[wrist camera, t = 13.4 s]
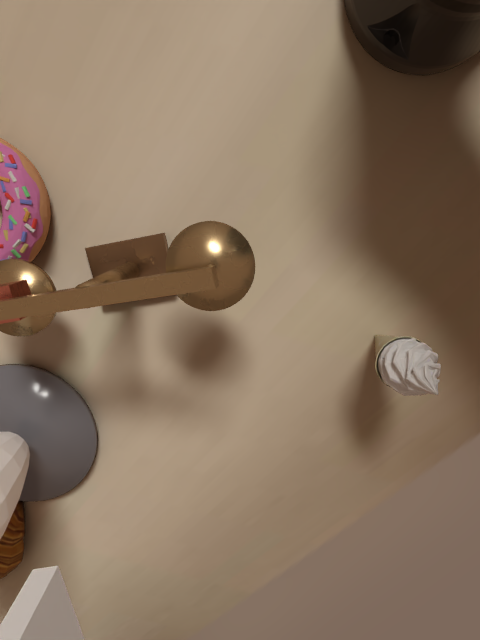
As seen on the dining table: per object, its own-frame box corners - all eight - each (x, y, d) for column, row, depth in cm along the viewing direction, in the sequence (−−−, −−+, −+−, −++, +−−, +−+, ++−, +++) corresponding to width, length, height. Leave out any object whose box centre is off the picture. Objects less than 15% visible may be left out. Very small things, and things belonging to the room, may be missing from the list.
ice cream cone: (410, 333, 46) (485, 391, 32) (377, 367, 47) (435, 438, 33) (376, 304, 46) (438, 350, 31) (343, 339, 47) (388, 399, 32)
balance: (29, 321, 46) (-91, 386, 30) (9, 257, 45) (-132, 288, 28) (258, 279, 45) (266, 322, 28) (245, 211, 43) (246, 214, 27)
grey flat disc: (-70, 376, 48) (-78, 380, 47) (75, 350, 47) (71, 353, 46) (-20, 504, 52) (-26, 511, 51) (115, 482, 51) (112, 489, 50)
